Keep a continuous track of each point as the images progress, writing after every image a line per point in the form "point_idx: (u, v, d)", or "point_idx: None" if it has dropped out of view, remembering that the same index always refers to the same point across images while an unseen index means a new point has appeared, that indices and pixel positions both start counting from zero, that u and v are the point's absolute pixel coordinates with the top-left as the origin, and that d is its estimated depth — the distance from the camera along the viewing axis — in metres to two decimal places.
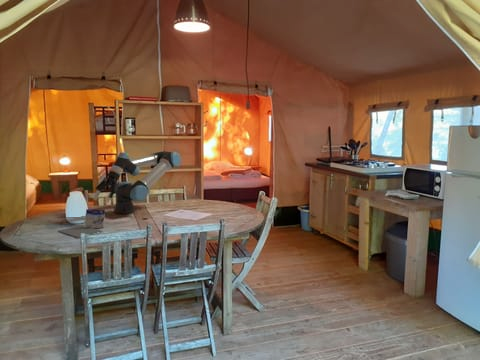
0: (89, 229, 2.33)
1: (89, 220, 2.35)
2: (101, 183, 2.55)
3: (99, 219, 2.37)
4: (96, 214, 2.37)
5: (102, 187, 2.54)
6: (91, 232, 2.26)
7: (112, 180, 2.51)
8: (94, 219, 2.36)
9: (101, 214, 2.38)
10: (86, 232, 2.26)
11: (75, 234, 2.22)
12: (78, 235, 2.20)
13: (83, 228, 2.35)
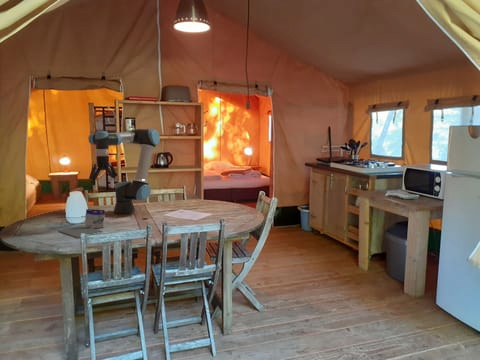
0: (89, 229, 2.33)
1: (89, 220, 2.35)
2: (94, 171, 2.33)
3: (99, 219, 2.37)
4: (96, 214, 2.37)
5: None
6: (91, 232, 2.26)
7: (107, 164, 2.40)
8: (94, 219, 2.36)
9: (101, 214, 2.38)
10: (86, 232, 2.26)
11: (75, 234, 2.22)
12: (78, 235, 2.20)
13: (83, 228, 2.35)
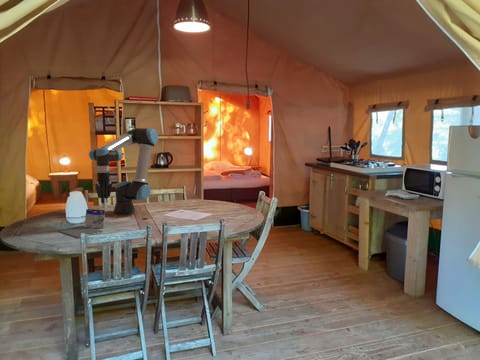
0: (89, 229, 2.33)
1: (89, 220, 2.35)
2: (99, 189, 2.37)
3: (99, 219, 2.37)
4: (96, 214, 2.37)
5: None
6: (91, 232, 2.26)
7: (108, 180, 2.41)
8: (94, 219, 2.36)
9: (101, 214, 2.38)
10: (86, 232, 2.26)
11: (75, 234, 2.22)
12: (78, 235, 2.20)
13: (83, 228, 2.35)
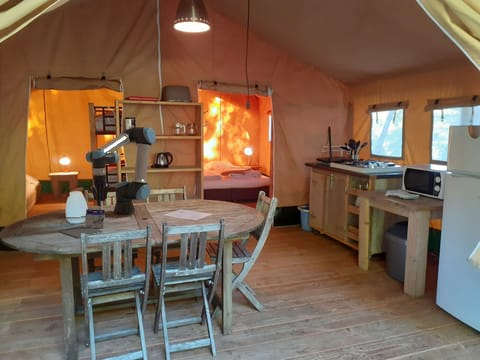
0: (89, 229, 2.33)
1: (89, 220, 2.35)
2: None
3: (99, 219, 2.37)
4: (96, 214, 2.37)
5: None
6: (91, 232, 2.26)
7: (104, 183, 2.39)
8: (94, 219, 2.36)
9: (101, 214, 2.38)
10: (86, 232, 2.26)
11: (75, 234, 2.22)
12: (78, 235, 2.20)
13: (83, 228, 2.35)
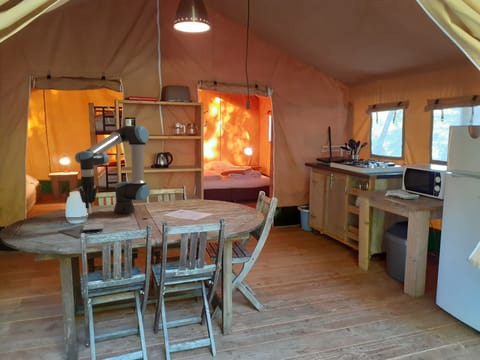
0: None
1: None
2: (83, 194, 2.28)
3: None
4: (94, 229, 2.29)
5: None
6: (91, 232, 2.26)
7: (92, 184, 2.32)
8: None
9: (99, 229, 2.29)
10: (86, 232, 2.26)
11: (75, 234, 2.22)
12: (78, 235, 2.20)
13: None
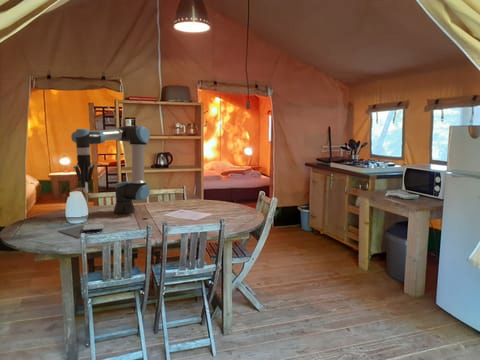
0: None
1: None
2: None
3: None
4: (94, 229, 2.29)
5: None
6: (91, 232, 2.26)
7: (89, 163, 2.29)
8: None
9: (99, 229, 2.29)
10: (86, 232, 2.26)
11: (75, 234, 2.22)
12: (78, 235, 2.20)
13: None
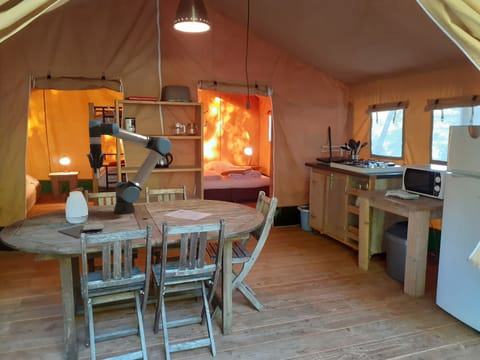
0: None
1: None
2: (92, 160, 2.48)
3: None
4: (94, 229, 2.29)
5: None
6: (91, 232, 2.26)
7: (100, 152, 2.52)
8: None
9: (99, 229, 2.29)
10: (86, 232, 2.26)
11: (75, 234, 2.22)
12: (78, 235, 2.20)
13: None
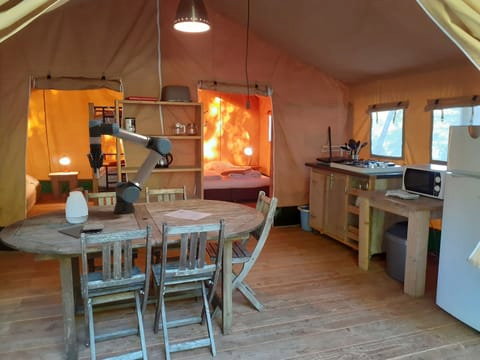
0: None
1: None
2: (92, 160, 2.48)
3: None
4: (94, 229, 2.29)
5: None
6: (91, 232, 2.26)
7: (100, 151, 2.52)
8: None
9: (99, 229, 2.29)
10: (86, 232, 2.26)
11: (75, 234, 2.22)
12: (78, 235, 2.20)
13: None
